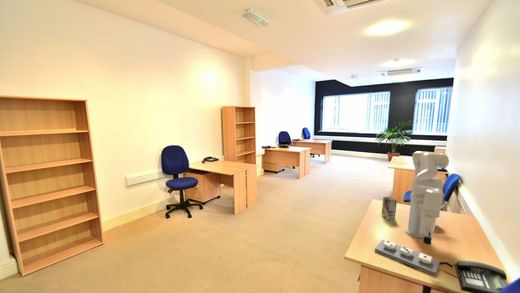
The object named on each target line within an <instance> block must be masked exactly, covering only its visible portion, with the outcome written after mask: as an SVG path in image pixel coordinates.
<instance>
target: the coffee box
mask: <svg viewBox="0 0 520 293" xmlns="http://www.w3.org/2000/svg"><path fill="white" fill-rule="evenodd" d="M397 202H398V201H397V200H396V199H394V198H393V197H391V196H383V197H382V208H381V215H382V214H383V215H384V216H385V217H387V218H388V219H395V220H396V214H397V213H396V212H397ZM384 216H383V217H384ZM385 217H384V218H385ZM387 218H386V219H387ZM388 219H387V220H388Z"/></svg>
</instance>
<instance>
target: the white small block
mask: <svg viewBox="0 0 520 293" xmlns="http://www.w3.org/2000/svg"><path fill="white" fill-rule="evenodd" d="M400 247H401V249H400V253H403V255H405V256H407V257H408V256H410V257H411V255H412V253H413V251H414V249H412V248H408V247H405V246H403V245H402V246H400Z"/></svg>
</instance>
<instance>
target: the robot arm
mask: <svg viewBox="0 0 520 293" xmlns="http://www.w3.org/2000/svg"><path fill="white" fill-rule="evenodd" d="M412 163H413V166H414V177H413V179H412V180H411V181H412V182H411V187H412V188H411V193H410V194H409V195H410V197H409V198H410V209H409V218H408V226H407V227H406V228H405V229H404V230H405V233H406V234H407V235H409V236H412V237H414V238H417V239H418V238H419V239H423V244H426V245H428V246H431V245H432V235H433V234H434V232H435V229H436V228H435V227H436V223H437V219H438V218H440V214H441V209H442V201H443V197H444V191H443V184H444V183H443V181H442V179H441V178H440V177H439V178H438V177H437V176H438V174H439V172H438V168H448V166H449V163H450V160H449V156H448V155H447V154H445V153H443V152H433V151H421V150H418V151H415V152H412Z"/></svg>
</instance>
